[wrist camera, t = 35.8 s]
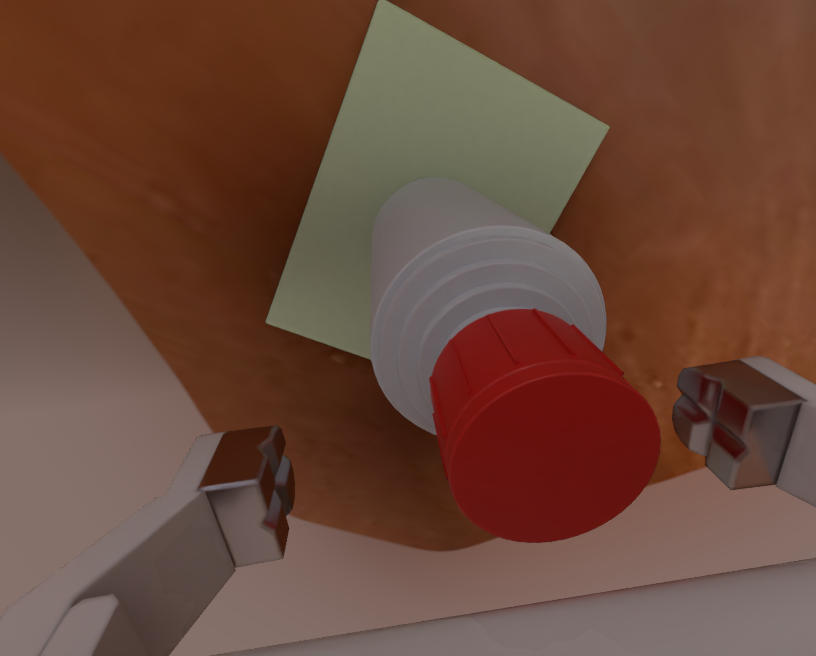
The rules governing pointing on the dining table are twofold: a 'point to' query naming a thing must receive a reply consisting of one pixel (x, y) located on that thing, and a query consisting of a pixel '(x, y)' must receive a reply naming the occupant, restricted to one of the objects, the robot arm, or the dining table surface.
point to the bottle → (461, 282)
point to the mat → (421, 163)
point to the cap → (538, 428)
